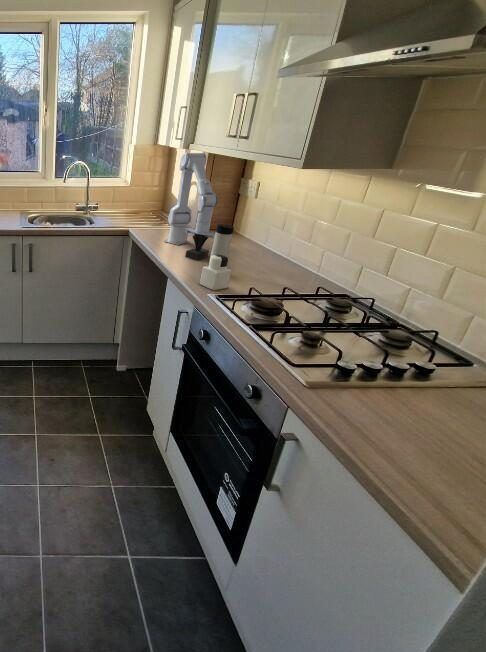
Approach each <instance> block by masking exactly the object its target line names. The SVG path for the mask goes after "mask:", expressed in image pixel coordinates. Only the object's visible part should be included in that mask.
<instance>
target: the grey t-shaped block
mask: <svg viewBox="0 0 486 652" xmlns="http://www.w3.org/2000/svg"><path fill="white" fill-rule="evenodd" d="M200 251H204V252H205V255H204V258H207V257H208V256H209V253H210V249H207V248H203V247H202V248H201V250H200ZM197 252H199V251H197Z"/></svg>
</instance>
